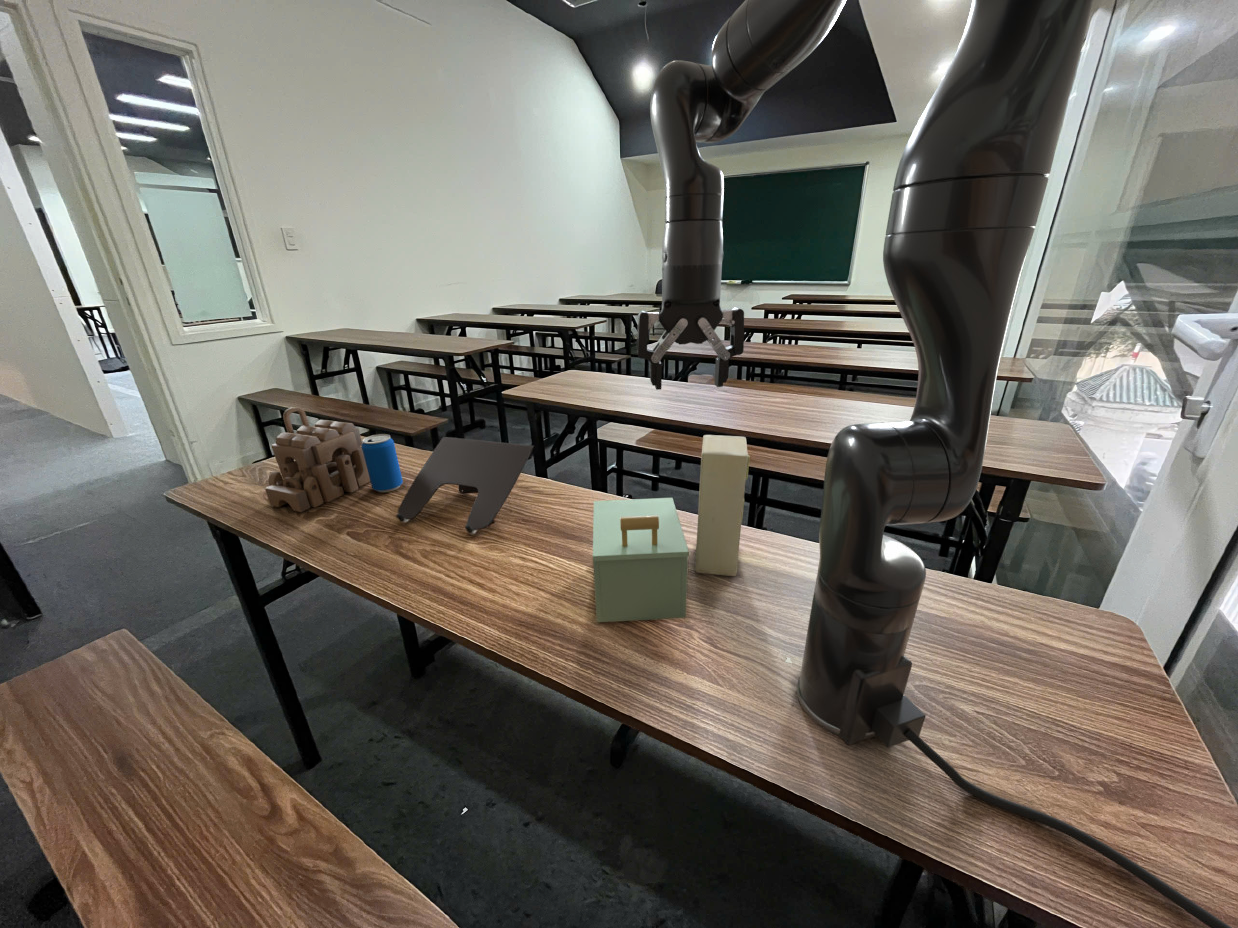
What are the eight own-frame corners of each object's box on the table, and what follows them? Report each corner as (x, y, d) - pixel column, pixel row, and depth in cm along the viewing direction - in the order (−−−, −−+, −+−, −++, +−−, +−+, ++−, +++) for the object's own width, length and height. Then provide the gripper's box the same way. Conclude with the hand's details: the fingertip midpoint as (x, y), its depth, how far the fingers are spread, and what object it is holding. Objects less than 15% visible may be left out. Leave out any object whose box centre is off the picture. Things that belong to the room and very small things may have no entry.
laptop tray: (404, 539, 100) (381, 514, 93) (456, 457, 114) (439, 430, 107) (501, 556, 93) (483, 530, 86) (543, 466, 107) (531, 438, 100)
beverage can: (375, 483, 112) (362, 435, 107) (404, 479, 113) (394, 432, 109) (370, 495, 106) (357, 445, 101) (402, 491, 108) (390, 441, 103)
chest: (685, 618, 68) (688, 554, 63) (596, 622, 67) (592, 558, 63) (671, 558, 81) (672, 502, 77) (597, 561, 81) (593, 505, 76)
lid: (689, 556, 63) (690, 523, 61) (592, 561, 62) (590, 528, 60) (672, 501, 77) (672, 473, 75) (593, 505, 76) (592, 476, 74)
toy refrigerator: (741, 578, 76) (752, 455, 67) (694, 573, 77) (700, 453, 69) (740, 550, 83) (750, 436, 74) (697, 546, 84) (702, 434, 76)
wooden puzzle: (308, 514, 99) (280, 429, 91) (261, 503, 104) (231, 422, 96) (390, 472, 118) (373, 399, 110) (347, 465, 123) (327, 394, 115)
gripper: (739, 260, 64) (731, 379, 71) (633, 263, 64) (635, 382, 70) (756, 260, 57) (746, 392, 64) (638, 264, 57) (639, 396, 64)
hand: (688, 387), depth 67 cm, fingers open, 8 cm apart
